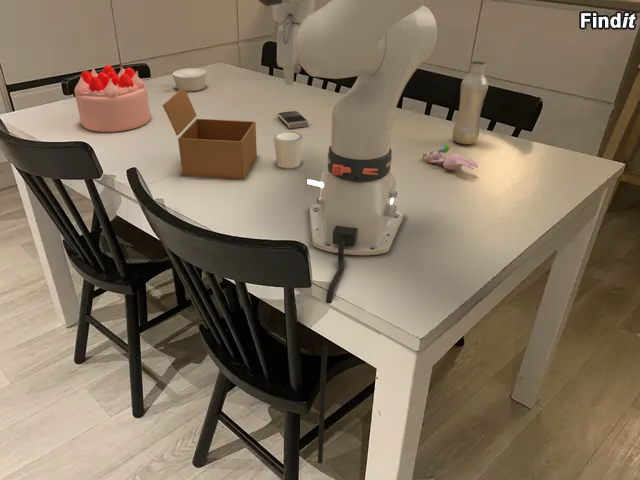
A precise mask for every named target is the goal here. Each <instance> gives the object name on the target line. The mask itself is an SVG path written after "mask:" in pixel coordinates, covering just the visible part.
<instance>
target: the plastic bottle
mask: <svg viewBox="0 0 640 480" xmlns="http://www.w3.org/2000/svg"><path fill="white" fill-rule="evenodd" d="M486 67H487V62H485V61H479V60H473V61H471V62H470V63H469V68H468V74H467V75H466V76H465V77H464V78H463V79H462V81H461V84H460V92H459V94H460V96H459V107H458V112H457V116H456V119H455V123H454V125H453V128H452V139H453V141H454V142H456V143H459V144H462V145H471V144H474V143H475V142H476V141H477V140H478V138H479V136H480V122H481V113H482V108H483V105H484V101H485V98H486V95H487V93H488V89H489V81H488V79H487V77H486V75H485V72H486V69H487V68H486Z"/></svg>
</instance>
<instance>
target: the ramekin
mask: <svg viewBox="0 0 640 480" xmlns="http://www.w3.org/2000/svg"><path fill="white" fill-rule="evenodd" d="M172 78H173V80H174V83H175V87H176V89H177V90H178V91H179V90H181V89H182V88H183V87H184V88H185V90H186V93H190V92H197V91H201V90H203V89H204V88H205V87H206V81H207V80H206V79H207V71H206V69H203V68H198V67H188V68H187V67H186V68H181V69H177V70H175V71H173V72H172Z"/></svg>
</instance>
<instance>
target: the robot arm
mask: <svg viewBox="0 0 640 480" xmlns="http://www.w3.org/2000/svg"><path fill="white" fill-rule="evenodd" d="M257 1H258V2H260V3H261V4H262V5H264V6H265V7H271V6H272V15H271V16H272V21H274V22H277V23H278V29H277V37H276V65H277V67H278V68H282V71H283V76H284V84H285V85H286V86H292V85H294V83H295V75H294V74H299V73H301V71H302V69H303V70H304V71H305V72H306V74H308V75H309V76H310V77H314V78H323V79H333V80H334V79H335V80H339V79H346V78H353V77H357V78H356V79H355V81H354V83H353V85H352V87H351V88H350V89H349V90H348V91H347V92H346V93H345V94H343V95H342V96H341V97H340V98H338V100H337V101H336V103H335V105H334V106H333V109H332V112H331V132H330V133H331V135H330V146H329V147H328V152H327V168H326V169H325V170H323V171H322V172H321V173H320V181H317V180H314V179H307V185H312V186H315V187H319V188H320V189H319V197H317V199H316V204H313V205H311V206H310V207H309V211H308V212H309V221H310V223H309V224H310V230H311V231H310V232H311V240H312V241H311V242H312V245H313V247H315V248H317V249H318V250H322V251H325V252H328V253H333V254H337V261H338V262H337V263H338V267H337V270H336V272H335V274H334V276H333V278H332V280H331V281H330V283H329V285H328V289H327V292H326V297H325V303H326V304H332V302H333V297H334V292H335V289H336V286H337V284H338V282H339V281H340V278H341V276H342V274H343V273H344V269H345V259H344V258H345V255H347V256H348V255H349V256H375V255H383V254H386V253H388V252H389V251H390V249H391V247H392V244H393V243H394V240H395V238H396V235H397V233H398V231H399V229H400V226H401V224H402V222H403V220H404V214H403V212H402V211H400V210H398V209H397V205H395V202H396V198H397V196H398V191H397V190H396V189H397V177H395V175H393V173H392V172H391V166H392V160H393V158H392V157H393V156H392V155H393V151H392V148H391V140H392V132H393V127H394V119H395V113H396V109H397V106H398V103H399V101H400V99H401V96H402V93H403V92H404V89H405V88H406V87H407V84H408V82H409V81H410V79H411V78H412V76H413V75H414V73H415V72H416V71H417V70H418V68H420V67H421V65H422V64H424V63H425V62H426V61H427V60H428V59H429V58H430V57H431V55H432V53H433V52H434V50H435V47H436V44H437V41H438V25H437V21H436V18H435V16H434V15H433V12H432V11H431V10H430V9H429V7H427V6H425V4H426V3H427V2H428V0H330V1H329V2H327V3H326V4H324V5H323V6H321V8H319V9H318V10H315V8H316V6H315V5H316V4H315V3H316V0H257ZM328 349H329V344H322V345H321V360H320V361H321V363H320V379H319V381H320V382H319V383H320V384H319V407H318V409H319V410H318V439H317V440H318V442H317V443H318V444H317V463H318V464H320V465H321V464H323V461H324V459H323V458H324V438H325V411H326V391H327V390H326V388H327V387H326V386H327V369H328V352H329V350H328Z"/></svg>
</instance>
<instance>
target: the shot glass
mask: <svg viewBox="0 0 640 480" xmlns="http://www.w3.org/2000/svg"><path fill="white" fill-rule="evenodd" d="M303 137H304V136H303V134H301V133H300V132H297V131H281V132H280V131H279V132H277V133H275V134H274V135H273V142H274V150H275V159H276V165H277V167H279V168H281V169H296V168H297V167H300V165H301V157H302V147H303Z"/></svg>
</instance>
